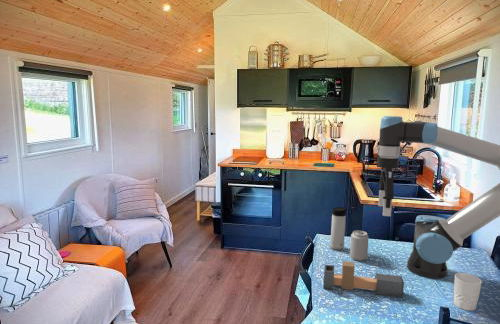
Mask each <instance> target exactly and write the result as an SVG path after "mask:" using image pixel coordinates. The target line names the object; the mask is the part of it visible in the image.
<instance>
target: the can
mask: <svg viewBox="0 0 500 324" xmlns="http://www.w3.org/2000/svg"><path fill="white" fill-rule="evenodd" d="M369 238H370V237H369V235H368V233H367V232H366V231H363V230H353V231H352V233H351V234H350V246H349V247H350V248H349V257H350V258H351V259H352V260H354V261H358V262H363V261H366V260H367V259H368V253H369V252H368V251H369V240H370V239H369Z"/></svg>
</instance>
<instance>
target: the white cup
mask: <svg viewBox="0 0 500 324" xmlns="http://www.w3.org/2000/svg"><path fill="white" fill-rule="evenodd" d="M481 288H482V279H481V278H480V277H478V276H476V275H473V274H471V273H465V272H456V273H455V274H454V281H453V305H455V306H456V307H457V308H459V309H461V310H464V311H471V312H472V311H475V310H476V309H477V304H478V301H479V298H480V293H481Z"/></svg>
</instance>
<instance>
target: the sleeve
mask: <svg viewBox="0 0 500 324" xmlns="http://www.w3.org/2000/svg"><path fill="white" fill-rule="evenodd" d="M374 275H375V276H374V279H377V285H376V290H374V292H375V295H376V296H381V297H391V298H396V299H397V298H398V299H403V297H404V291H405V290H404V287H405V282H404V279H403V277H402V275H394V274H393V275H392V274H386V273H385V274H384V273H377V272H375V273H374Z"/></svg>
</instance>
